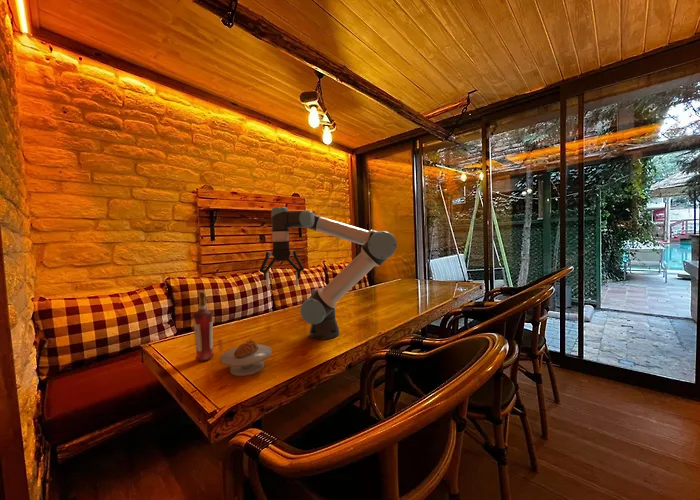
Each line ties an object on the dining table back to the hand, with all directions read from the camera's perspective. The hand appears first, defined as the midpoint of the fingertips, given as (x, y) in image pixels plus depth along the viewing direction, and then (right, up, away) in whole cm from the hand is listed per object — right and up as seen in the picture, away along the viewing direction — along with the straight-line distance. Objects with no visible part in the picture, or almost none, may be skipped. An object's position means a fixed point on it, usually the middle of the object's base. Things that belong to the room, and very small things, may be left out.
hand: (282, 286), depth 134 cm
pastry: (-8, -22, -25) cm, 35 cm away
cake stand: (-8, -28, -25) cm, 38 cm away
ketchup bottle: (-29, -28, -15) cm, 43 cm away
